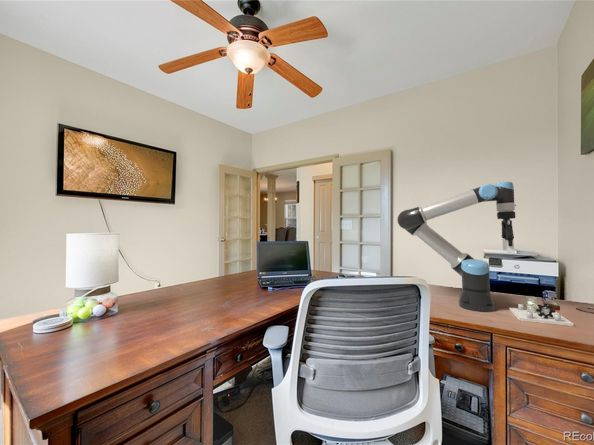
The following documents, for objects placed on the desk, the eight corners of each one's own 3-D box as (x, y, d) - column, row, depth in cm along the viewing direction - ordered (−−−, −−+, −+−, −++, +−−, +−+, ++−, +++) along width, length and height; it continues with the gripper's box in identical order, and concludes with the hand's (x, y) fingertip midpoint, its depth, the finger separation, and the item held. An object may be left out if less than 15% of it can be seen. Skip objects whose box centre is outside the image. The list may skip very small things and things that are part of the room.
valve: (520, 309, 123) (537, 318, 112) (520, 295, 124) (536, 303, 112) (537, 310, 122) (555, 319, 110) (536, 296, 122) (555, 303, 110)
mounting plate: (519, 320, 113) (519, 312, 113) (509, 309, 127) (509, 302, 127) (573, 326, 105) (573, 317, 105) (556, 314, 119) (555, 306, 119)
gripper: (519, 209, 125) (522, 254, 125) (510, 211, 146) (513, 249, 146) (500, 210, 129) (502, 253, 129) (494, 212, 150) (496, 249, 150)
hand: (508, 251), depth 137 cm, fingers open, 13 cm apart
